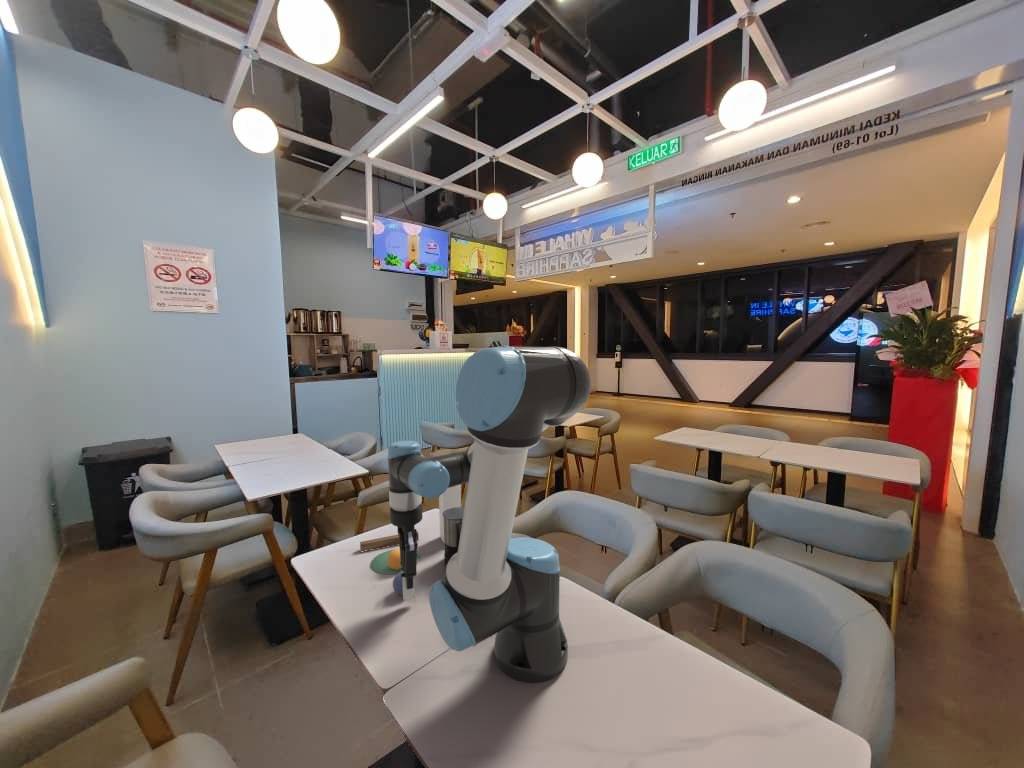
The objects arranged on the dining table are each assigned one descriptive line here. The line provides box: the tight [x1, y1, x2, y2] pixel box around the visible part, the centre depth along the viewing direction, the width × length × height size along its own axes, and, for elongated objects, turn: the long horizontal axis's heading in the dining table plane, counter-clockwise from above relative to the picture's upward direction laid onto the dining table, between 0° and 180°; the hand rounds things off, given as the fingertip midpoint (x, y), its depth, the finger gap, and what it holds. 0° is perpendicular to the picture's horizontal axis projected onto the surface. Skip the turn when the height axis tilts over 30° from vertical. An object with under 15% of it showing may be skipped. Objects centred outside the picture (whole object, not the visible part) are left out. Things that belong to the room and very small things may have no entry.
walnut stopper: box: [359, 530, 420, 552], centre depth 128 cm, size 2×18×2 cm, turn 115°
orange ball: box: [387, 548, 402, 570], centre depth 114 cm, size 6×6×6 cm
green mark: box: [370, 548, 420, 575], centre depth 118 cm, size 14×14×1 cm
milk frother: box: [443, 506, 465, 566], centre depth 118 cm, size 14×16×15 cm
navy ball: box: [392, 571, 404, 596], centre depth 102 cm, size 6×6×6 cm
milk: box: [438, 484, 462, 544], centre depth 131 cm, size 6×6×22 cm
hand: (409, 598), depth 97 cm, fingers closed
